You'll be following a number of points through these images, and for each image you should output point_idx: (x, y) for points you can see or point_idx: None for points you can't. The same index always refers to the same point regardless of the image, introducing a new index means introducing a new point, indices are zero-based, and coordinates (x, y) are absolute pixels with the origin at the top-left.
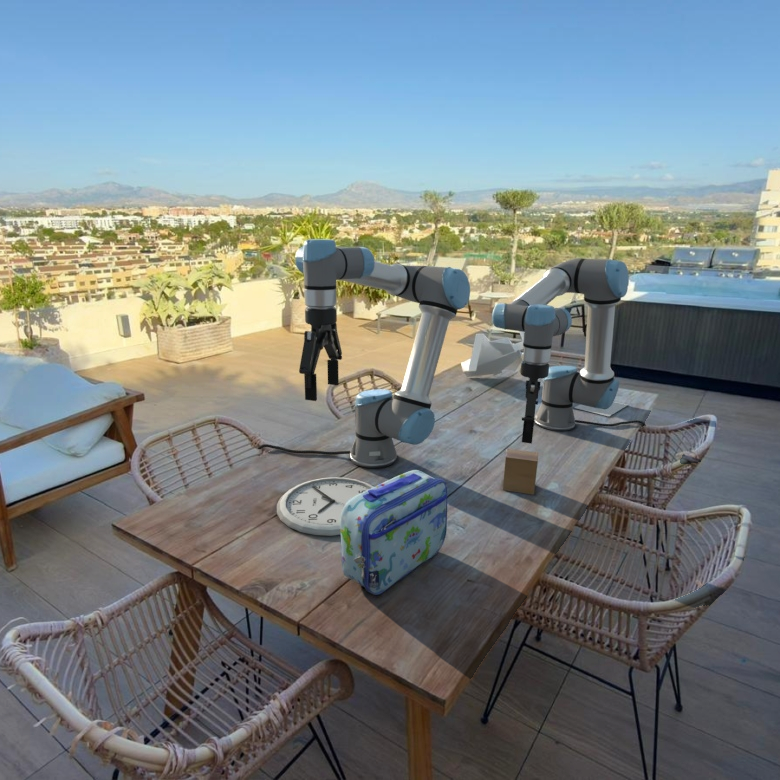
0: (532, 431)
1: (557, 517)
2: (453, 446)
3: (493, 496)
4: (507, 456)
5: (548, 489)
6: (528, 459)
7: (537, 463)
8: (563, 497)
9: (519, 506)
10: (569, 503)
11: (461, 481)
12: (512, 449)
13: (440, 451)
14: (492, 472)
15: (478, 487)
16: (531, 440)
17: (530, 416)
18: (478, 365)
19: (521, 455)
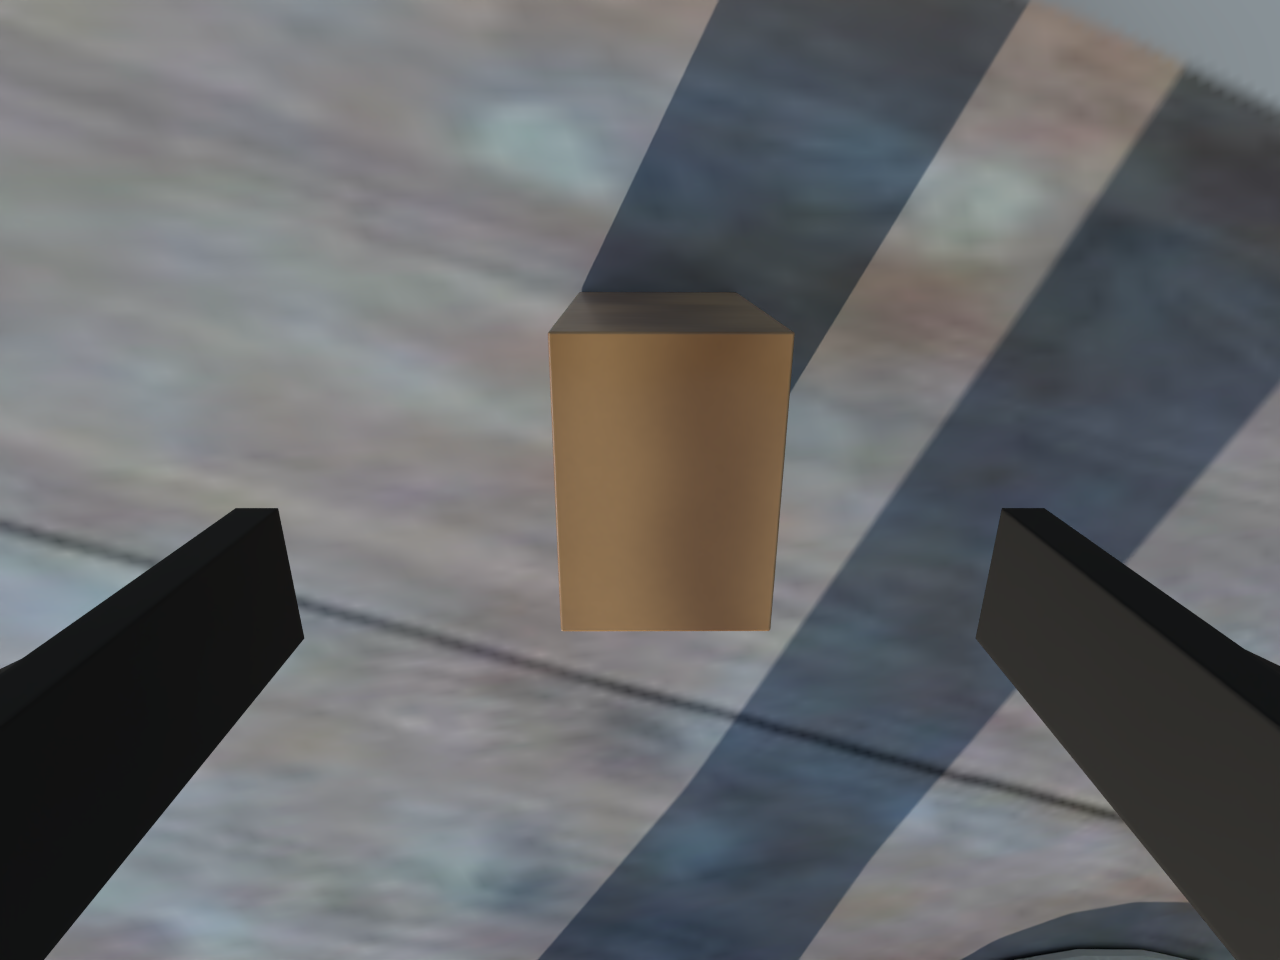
0: (1189, 624)
1: (1040, 112)
2: (213, 827)
3: (827, 542)
4: (753, 618)
5: (618, 183)
6: (772, 428)
7: (787, 328)
8: (718, 56)
9: (926, 381)
10: (808, 5)
11: (684, 723)
12: (566, 588)
13: (328, 874)
14: (492, 579)
15: (732, 632)
16: (1068, 537)
17: (182, 667)
18: None
19: (687, 499)
